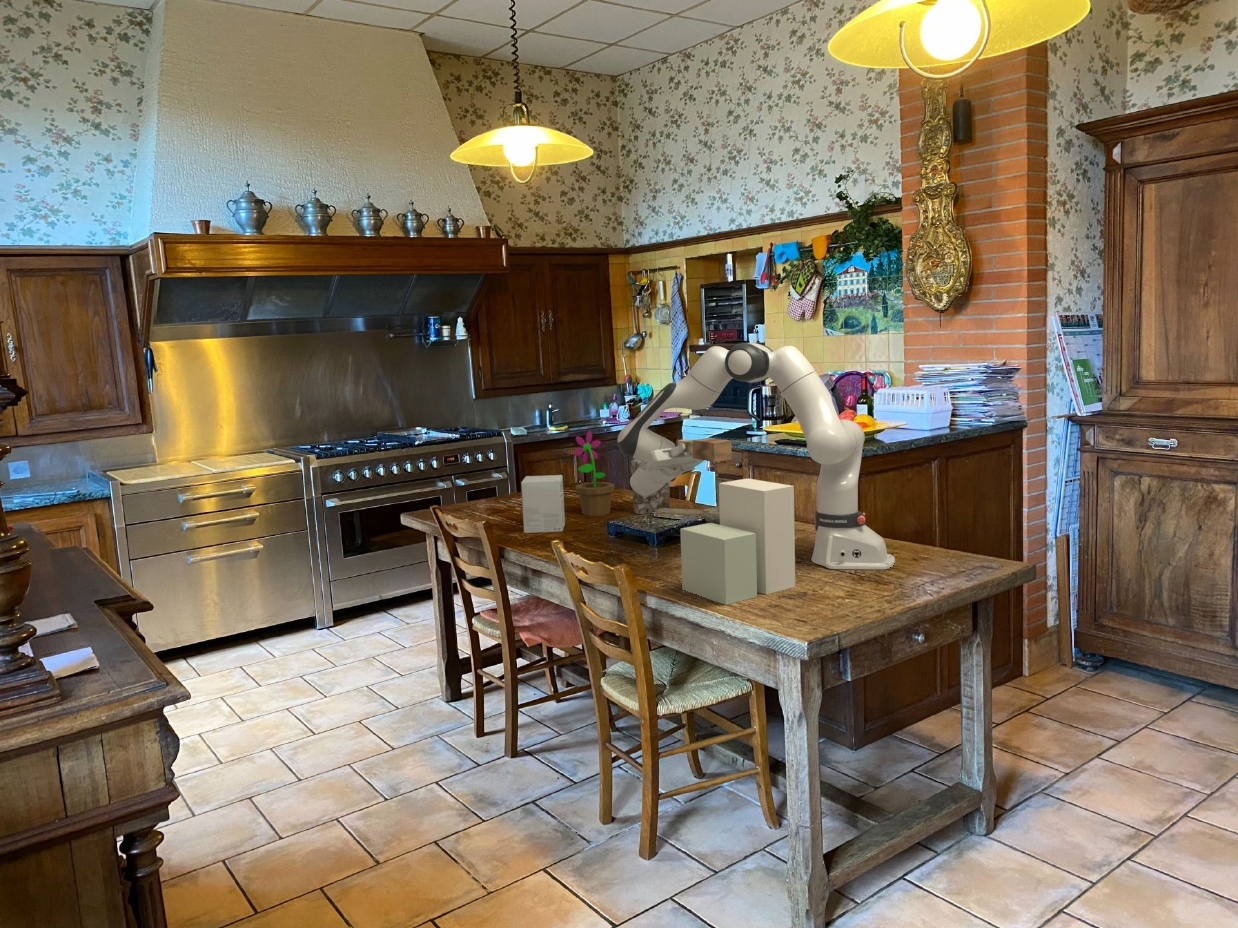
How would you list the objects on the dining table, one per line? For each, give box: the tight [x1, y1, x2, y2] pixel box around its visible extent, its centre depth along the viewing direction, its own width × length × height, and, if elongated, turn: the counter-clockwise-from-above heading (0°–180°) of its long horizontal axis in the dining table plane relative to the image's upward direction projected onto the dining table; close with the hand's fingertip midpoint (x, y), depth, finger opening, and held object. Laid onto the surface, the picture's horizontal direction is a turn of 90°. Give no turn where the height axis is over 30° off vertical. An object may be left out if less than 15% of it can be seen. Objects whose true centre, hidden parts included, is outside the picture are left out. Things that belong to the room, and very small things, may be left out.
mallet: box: [677, 437, 733, 463], centre depth 249 cm, size 18×6×5 cm, turn 34°
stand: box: [680, 478, 796, 606], centre depth 231 cm, size 17×23×26 cm
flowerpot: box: [572, 430, 615, 517], centre depth 334 cm, size 14×14×30 cm
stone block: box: [630, 458, 671, 515], centre depth 332 cm, size 13×7×20 cm, turn 118°
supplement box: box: [520, 474, 566, 534], centre depth 312 cm, size 13×13×18 cm
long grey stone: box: [654, 505, 720, 524], centre depth 318 cm, size 35×5×10 cm
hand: (691, 444), depth 252 cm, fingers closed on mallet, 3 cm apart
